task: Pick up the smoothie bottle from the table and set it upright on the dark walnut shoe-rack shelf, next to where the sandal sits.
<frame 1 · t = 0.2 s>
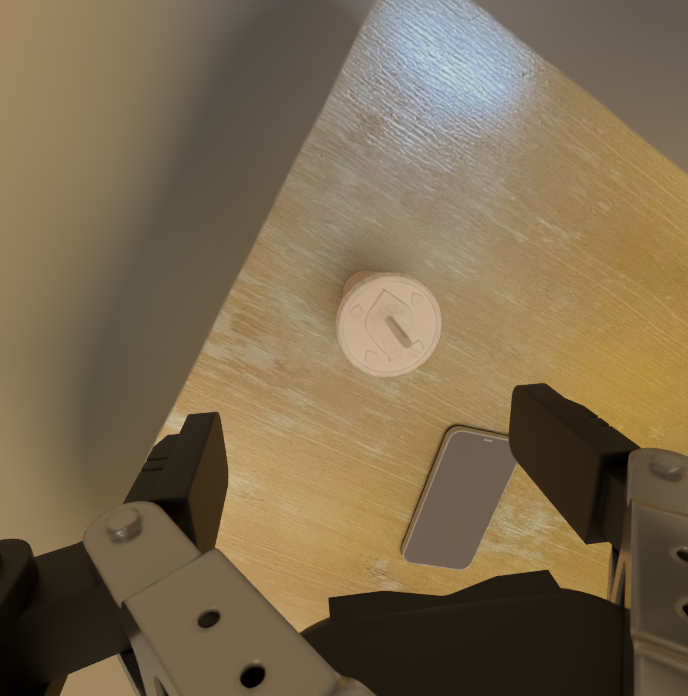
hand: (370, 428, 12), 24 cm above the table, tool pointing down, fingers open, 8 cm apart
smoothie: (365, 293, 36), on the table
smartphone: (456, 497, 43), on the table
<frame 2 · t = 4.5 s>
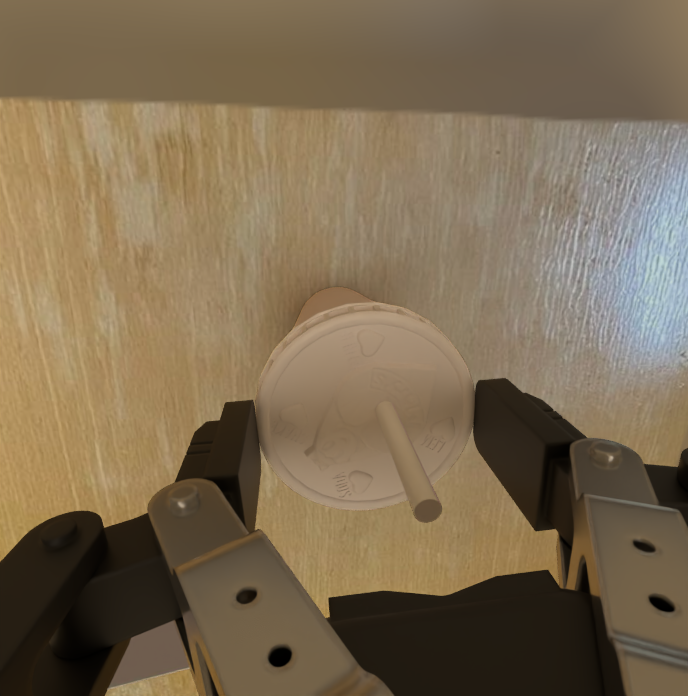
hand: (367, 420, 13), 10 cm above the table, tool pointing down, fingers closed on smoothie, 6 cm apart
smoothie: (336, 323, 22), on the table, touching gripper
smartphone: (111, 623, 26), on the table
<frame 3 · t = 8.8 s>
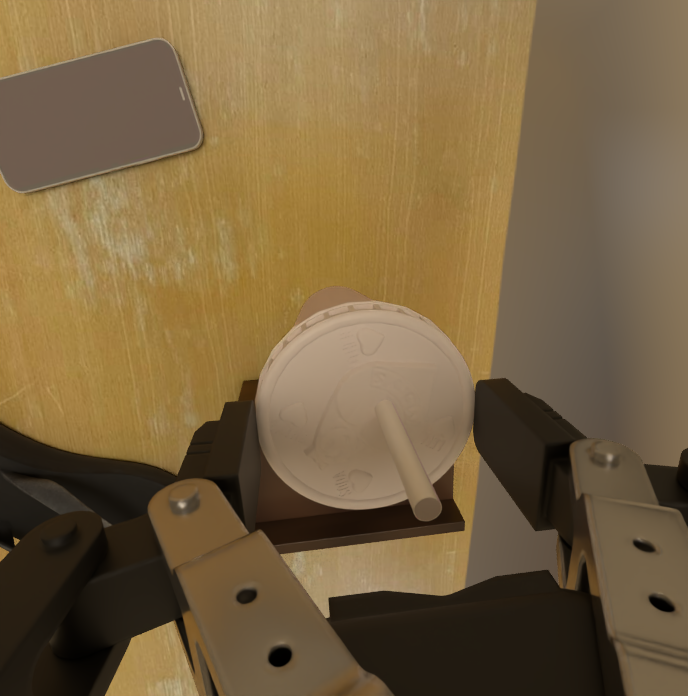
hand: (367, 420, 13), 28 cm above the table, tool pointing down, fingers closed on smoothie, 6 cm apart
smoothie: (336, 323, 22), point 18 cm above the table, touching gripper
smartphone: (93, 120, 34), on the table
sandal: (63, 476, 43), on the table
shelf: (344, 427, 44), on the table
when the fingers open (16 cm above the table, at t = 13.2 s): smoothie stays where it is, resting on shelf.
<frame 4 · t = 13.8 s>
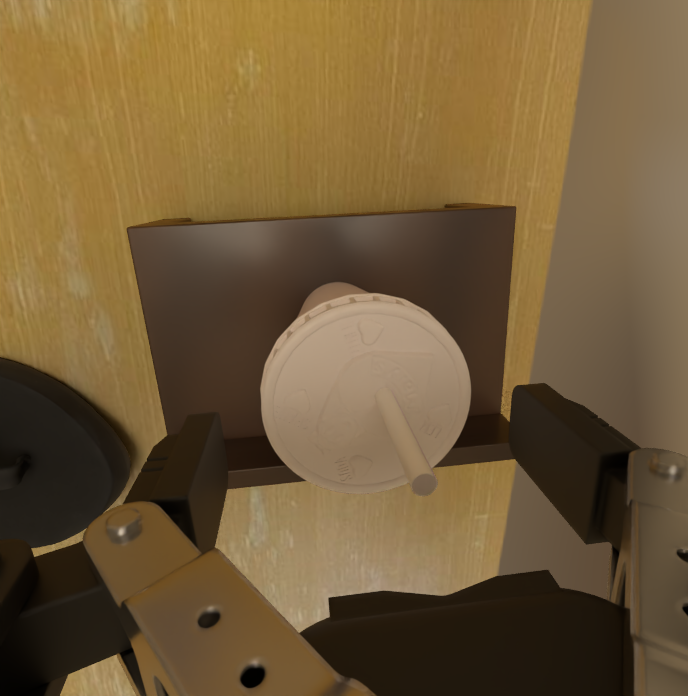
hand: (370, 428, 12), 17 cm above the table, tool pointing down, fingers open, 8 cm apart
smoothie: (336, 318, 23), point 6 cm above the table, touching shelf
shelf: (326, 310, 28), on the table
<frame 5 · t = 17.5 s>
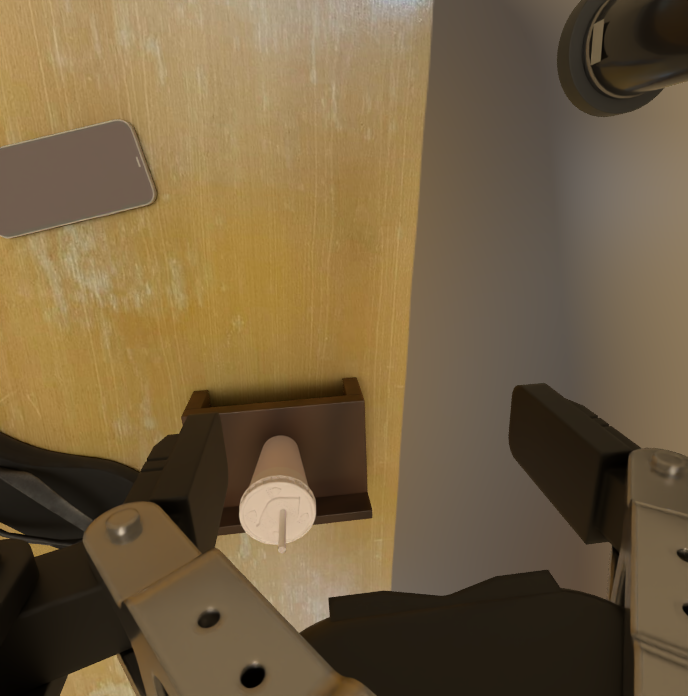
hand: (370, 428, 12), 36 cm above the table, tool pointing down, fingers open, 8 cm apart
smoothie: (280, 450, 47), point 6 cm above the table, touching shelf
smartphone: (67, 180, 42), on the table
sandal: (40, 469, 51), on the table
shelf: (281, 431, 52), on the table
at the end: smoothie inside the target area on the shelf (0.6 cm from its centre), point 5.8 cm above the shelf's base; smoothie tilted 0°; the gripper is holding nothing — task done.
